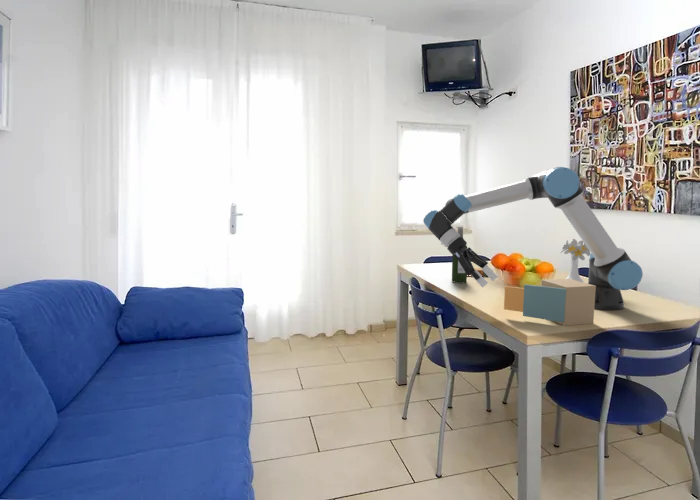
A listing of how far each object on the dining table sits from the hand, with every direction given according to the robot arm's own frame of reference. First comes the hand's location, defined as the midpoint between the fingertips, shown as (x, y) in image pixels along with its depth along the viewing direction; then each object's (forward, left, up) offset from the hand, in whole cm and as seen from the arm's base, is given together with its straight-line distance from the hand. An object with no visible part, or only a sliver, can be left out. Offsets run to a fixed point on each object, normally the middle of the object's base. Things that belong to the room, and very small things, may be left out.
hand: (490, 282), depth 165 cm
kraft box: (-28, +2, -13) cm, 31 cm away
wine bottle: (+5, -66, -13) cm, 68 cm away
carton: (-7, -87, -14) cm, 89 cm away
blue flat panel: (-15, +6, -12) cm, 20 cm away
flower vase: (-49, -51, -13) cm, 72 cm away
